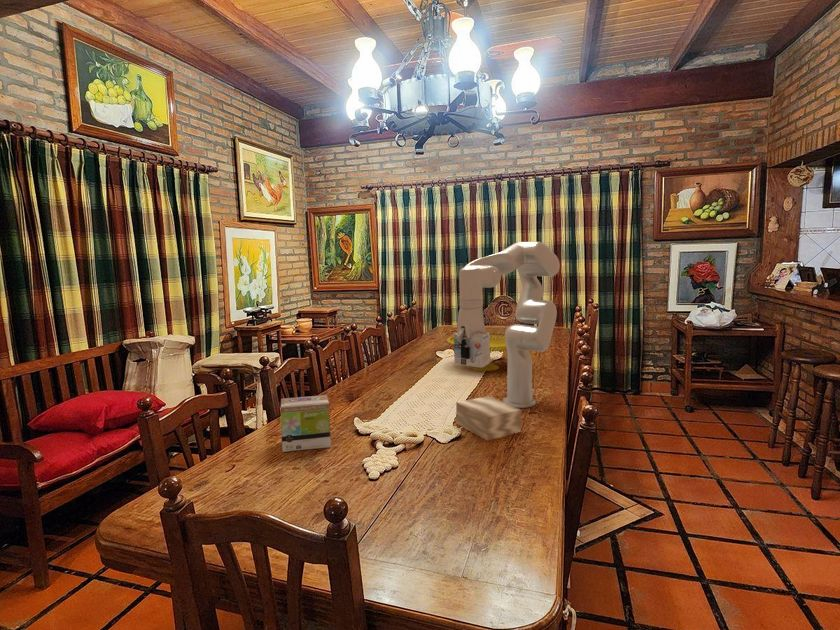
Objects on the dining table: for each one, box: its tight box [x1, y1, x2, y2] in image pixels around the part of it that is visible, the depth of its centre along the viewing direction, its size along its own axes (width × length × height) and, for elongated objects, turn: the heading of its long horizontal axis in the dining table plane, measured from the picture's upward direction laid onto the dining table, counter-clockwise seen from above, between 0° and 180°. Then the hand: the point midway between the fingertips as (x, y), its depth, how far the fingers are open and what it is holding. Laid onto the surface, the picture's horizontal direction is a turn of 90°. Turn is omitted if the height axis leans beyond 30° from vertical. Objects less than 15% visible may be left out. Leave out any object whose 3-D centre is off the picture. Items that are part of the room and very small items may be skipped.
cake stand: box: [445, 332, 507, 372], centre depth 246 cm, size 40×40×15 cm
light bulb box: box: [453, 331, 491, 368], centre depth 161 cm, size 11×7×11 cm, turn 60°
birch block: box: [455, 395, 522, 441], centre depth 163 cm, size 14×18×8 cm
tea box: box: [280, 394, 332, 453], centre depth 151 cm, size 15×10×15 cm
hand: (472, 355), depth 161 cm, fingers closed on light bulb box, 7 cm apart
